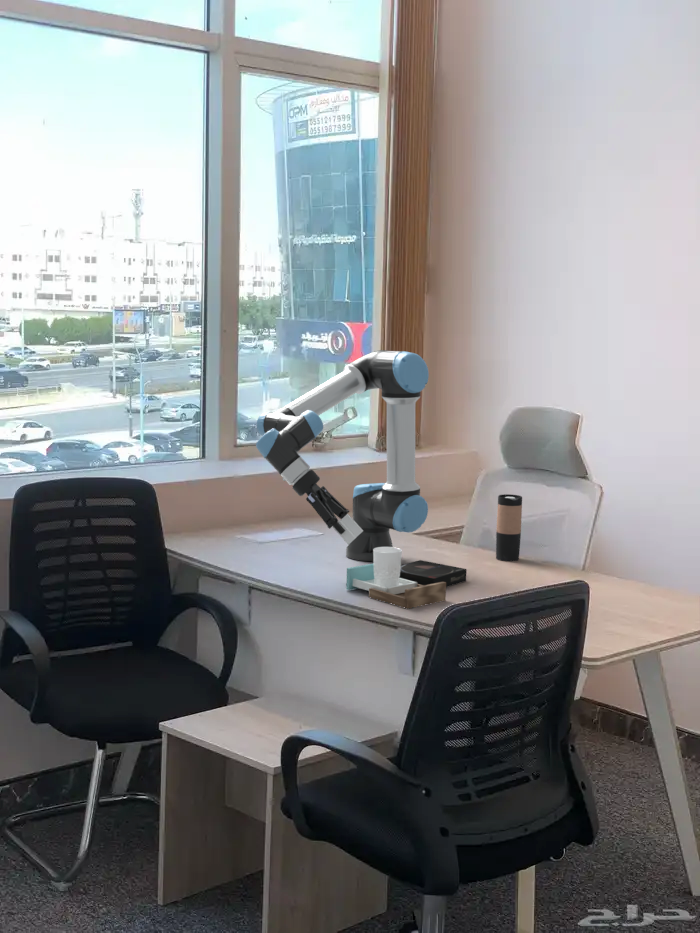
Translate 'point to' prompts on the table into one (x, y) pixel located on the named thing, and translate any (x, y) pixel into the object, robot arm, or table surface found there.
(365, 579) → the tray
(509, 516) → the travel mug
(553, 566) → the table surface
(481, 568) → the table surface
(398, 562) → the white cup
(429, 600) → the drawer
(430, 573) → the portable cd player
